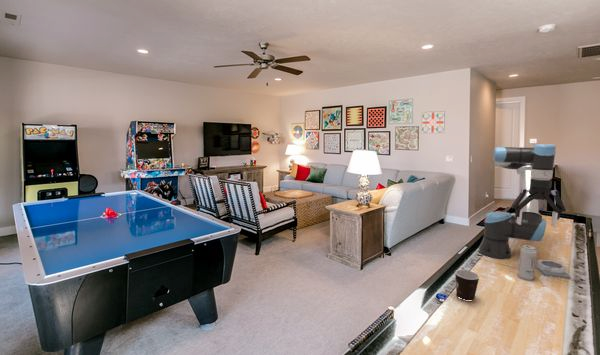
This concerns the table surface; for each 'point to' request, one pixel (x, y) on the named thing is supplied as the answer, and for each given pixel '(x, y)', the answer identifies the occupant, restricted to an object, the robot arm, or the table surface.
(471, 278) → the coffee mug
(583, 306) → the table surface
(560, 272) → the steel collar
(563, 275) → the slate plate
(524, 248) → the energy drink can
